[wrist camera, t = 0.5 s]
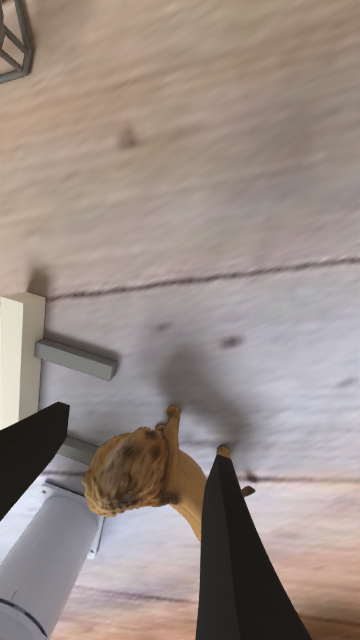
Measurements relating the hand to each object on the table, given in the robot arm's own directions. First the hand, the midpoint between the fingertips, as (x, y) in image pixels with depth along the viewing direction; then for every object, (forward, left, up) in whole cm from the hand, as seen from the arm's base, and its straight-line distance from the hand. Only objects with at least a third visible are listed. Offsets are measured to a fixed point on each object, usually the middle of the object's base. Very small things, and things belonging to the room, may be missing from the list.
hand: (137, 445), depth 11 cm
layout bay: (-8, +9, -10) cm, 16 cm away
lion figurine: (-8, -3, -10) cm, 13 cm away
